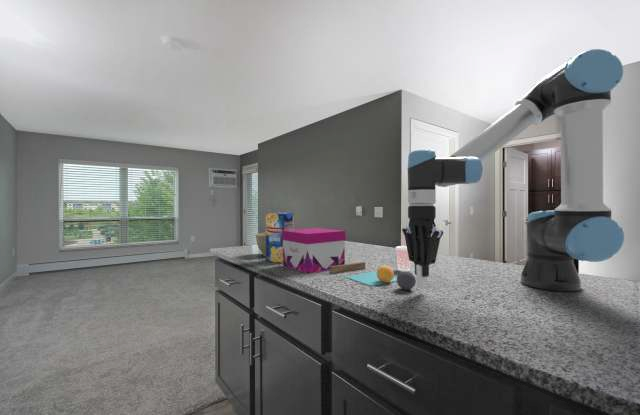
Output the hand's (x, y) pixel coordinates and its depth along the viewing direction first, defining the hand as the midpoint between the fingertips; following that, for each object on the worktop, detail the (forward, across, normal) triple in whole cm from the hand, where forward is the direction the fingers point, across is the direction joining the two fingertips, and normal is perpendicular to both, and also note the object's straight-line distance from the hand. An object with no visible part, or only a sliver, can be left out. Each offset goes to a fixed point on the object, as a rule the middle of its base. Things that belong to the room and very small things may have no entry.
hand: (421, 287), depth 88 cm
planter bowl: (+2, -86, -11) cm, 87 cm away
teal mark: (+2, -21, 0) cm, 21 cm away
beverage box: (+2, -69, -14) cm, 70 cm away
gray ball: (-1, -6, 0) cm, 6 cm away
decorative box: (+2, -50, -7) cm, 51 cm away
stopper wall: (+2, -36, 0) cm, 36 cm away
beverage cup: (+2, -25, +19) cm, 31 cm away
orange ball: (-1, -15, 0) cm, 15 cm away
